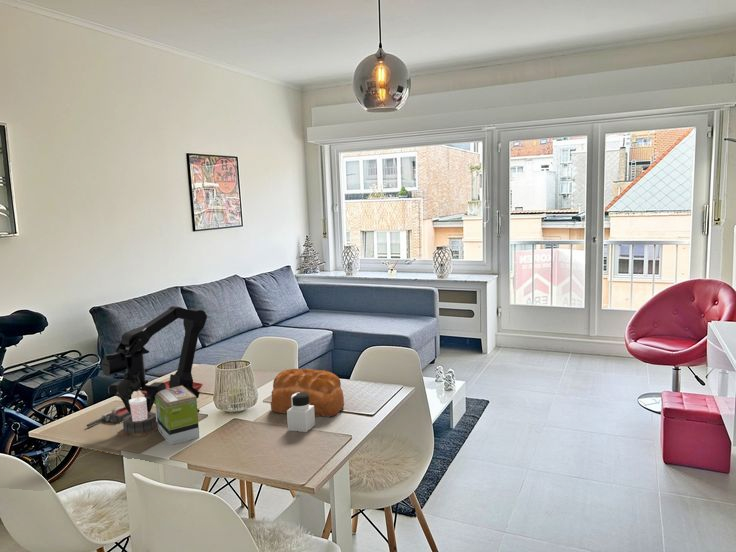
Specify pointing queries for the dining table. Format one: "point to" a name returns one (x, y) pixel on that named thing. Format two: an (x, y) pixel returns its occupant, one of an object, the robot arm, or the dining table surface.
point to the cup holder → (139, 426)
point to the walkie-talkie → (113, 415)
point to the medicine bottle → (300, 413)
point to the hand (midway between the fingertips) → (139, 411)
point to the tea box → (177, 415)
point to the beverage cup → (138, 408)
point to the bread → (308, 390)
